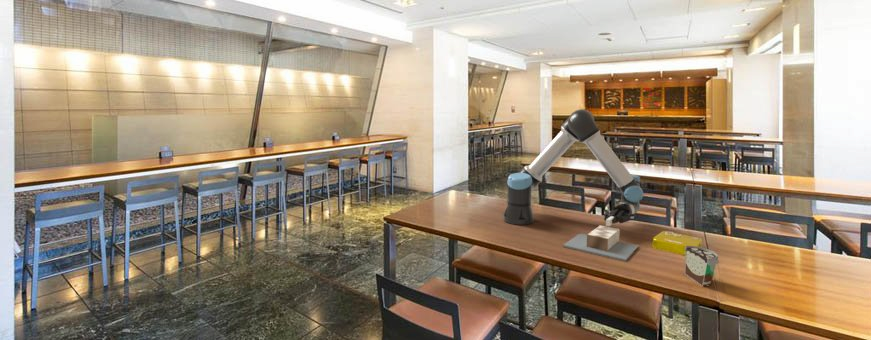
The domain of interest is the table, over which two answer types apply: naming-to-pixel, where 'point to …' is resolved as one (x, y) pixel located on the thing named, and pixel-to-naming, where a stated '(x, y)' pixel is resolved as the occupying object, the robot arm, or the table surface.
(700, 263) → the food container
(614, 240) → the tall block
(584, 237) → the mat
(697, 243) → the element tile
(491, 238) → the table surface
